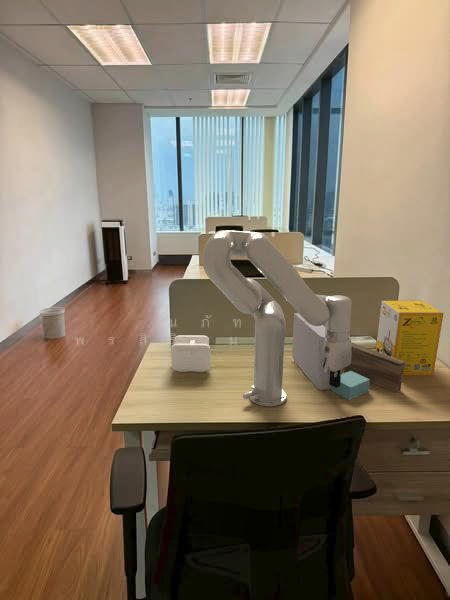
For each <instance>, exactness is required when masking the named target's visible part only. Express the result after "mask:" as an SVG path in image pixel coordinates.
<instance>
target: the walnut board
mask: <svg viewBox="0 0 450 600" xmlns="http://www.w3.org/2000/svg"><path fill="white" fill-rule="evenodd" d="M351 347H352V358H351V364H350V365H348V366H346V367H344V368H343V371H346V372H349V371H352V372H355V373H357V374H359V375H361V376H363V377H365V378H368V379H370V382H371V383H374V384H375V385H377V386H381V388H382V387H383V388H385V389H387V390H389V391H392V392H394V393H396V394H398V393H400V392H401V389H402V382H403V377H404V375H403V369H404V364H405V361H402V360H399V359H396V358H393V357H391V356H388V355H385V354H382V353H379V352H377V351H376V350H374V349H370V348H368V347H365V346H362V345H360V344H356V343H354V342H351Z"/></svg>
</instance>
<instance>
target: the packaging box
mask: <svg viewBox="0 0 450 600" xmlns="http://www.w3.org/2000/svg"><path fill="white" fill-rule="evenodd" d="M379 312H380V314H379V322H378V329H377V339H376V347H375V351H377V352H379V353H382V354H385V355H388V356H391V357H393V358H396V359H399V360H402V361H405V364H404V369H403V376H434V372H435V366H436V360H437V355H438V349H439V343H440V337H441V331H442V324H443V319H444V312H442V311H441V310H439V309H437V308H436V307H435V306H432V305H430V304H429V303H427V302H426V301H424V300H381V304H380V311H379Z"/></svg>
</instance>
